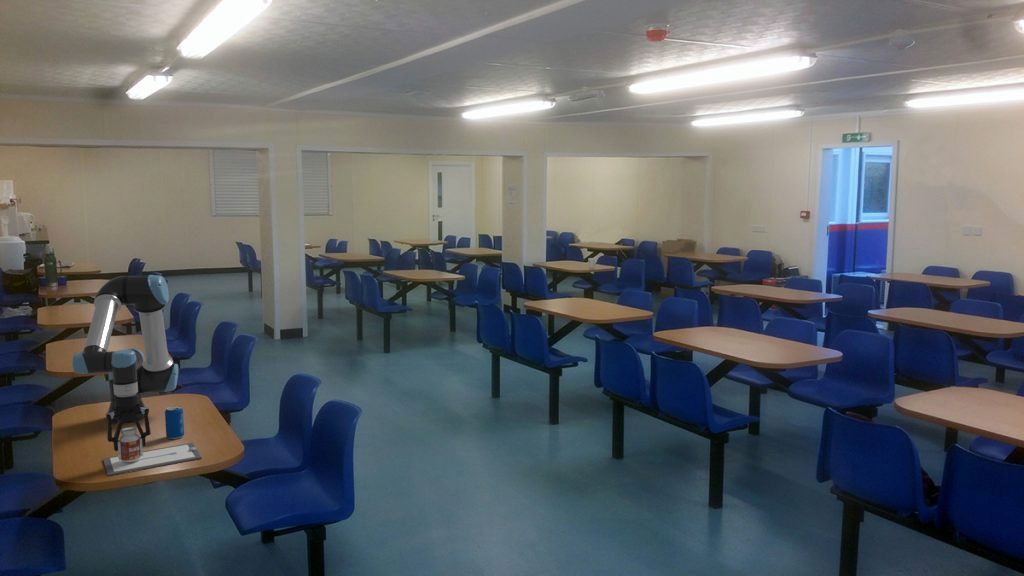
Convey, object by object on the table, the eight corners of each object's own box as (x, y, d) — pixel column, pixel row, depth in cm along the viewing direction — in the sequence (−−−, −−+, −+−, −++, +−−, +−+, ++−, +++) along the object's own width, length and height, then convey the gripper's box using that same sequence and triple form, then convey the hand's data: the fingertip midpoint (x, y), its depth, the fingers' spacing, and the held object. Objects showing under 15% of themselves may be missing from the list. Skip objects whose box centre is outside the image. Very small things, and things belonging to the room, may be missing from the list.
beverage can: (177, 440, 286) (175, 410, 284) (162, 439, 287) (160, 409, 285) (188, 435, 292) (186, 405, 290) (173, 433, 293) (171, 404, 291)
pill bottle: (130, 463, 258) (128, 433, 257) (117, 461, 260) (114, 431, 258) (144, 457, 264) (142, 427, 262) (130, 455, 266) (128, 425, 264)
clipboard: (103, 459, 265) (102, 456, 265) (192, 444, 282) (192, 440, 281) (108, 476, 250) (107, 472, 250) (201, 458, 267) (201, 455, 267)
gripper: (96, 401, 250) (101, 465, 254) (157, 392, 261) (161, 455, 264) (94, 395, 257) (99, 459, 260) (154, 387, 267) (158, 448, 270)
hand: (130, 456), depth 262 cm, fingers closed on pill bottle, 6 cm apart
